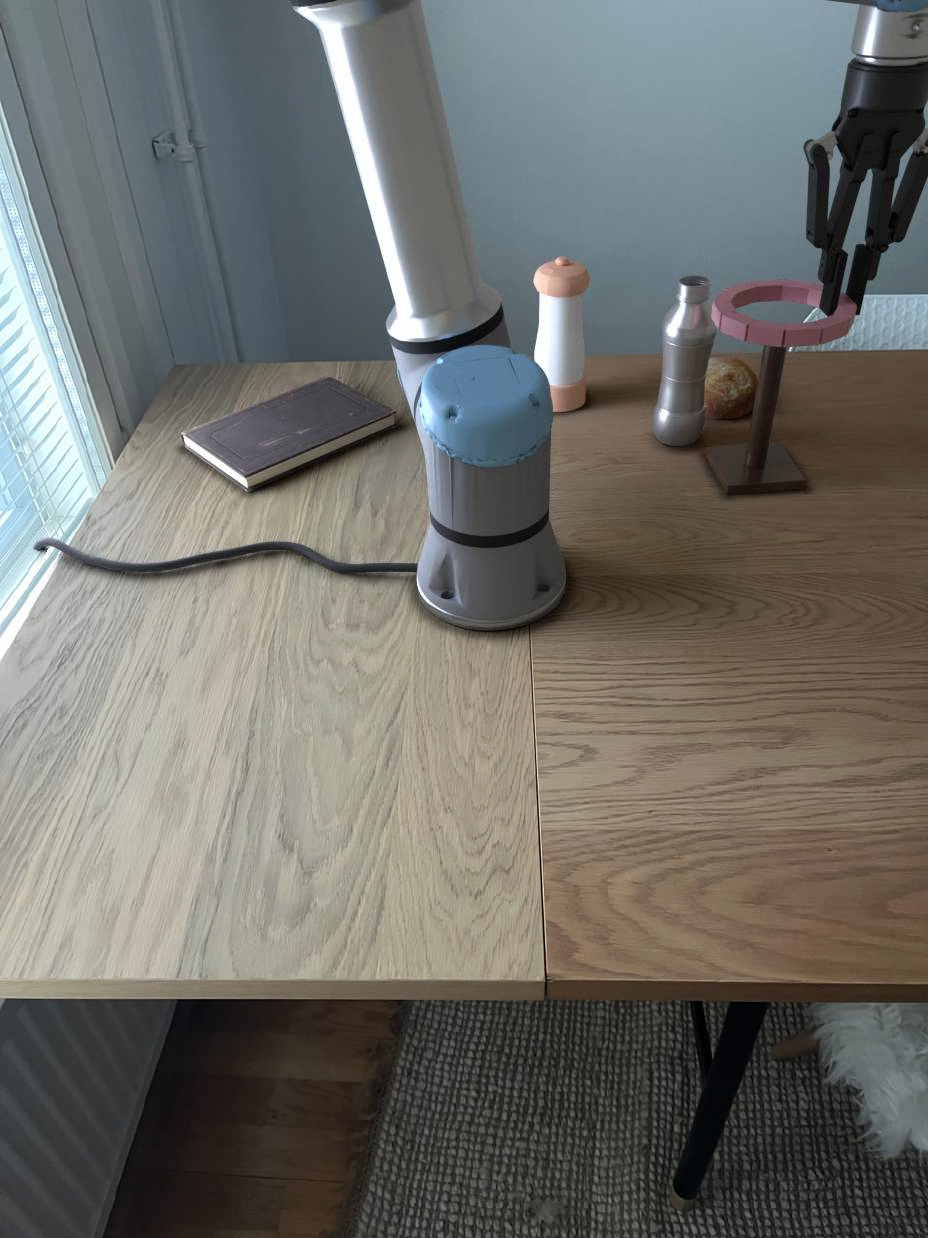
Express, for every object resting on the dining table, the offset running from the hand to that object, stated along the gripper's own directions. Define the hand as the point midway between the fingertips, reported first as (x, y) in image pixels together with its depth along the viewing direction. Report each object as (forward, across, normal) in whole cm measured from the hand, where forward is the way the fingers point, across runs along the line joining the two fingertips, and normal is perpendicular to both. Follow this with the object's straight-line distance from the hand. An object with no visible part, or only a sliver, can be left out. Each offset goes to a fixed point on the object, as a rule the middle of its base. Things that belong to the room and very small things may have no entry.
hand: (839, 310), depth 101 cm
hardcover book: (+19, -62, +17) cm, 67 cm away
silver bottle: (+19, -13, +9) cm, 25 cm away
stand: (+19, -6, 0) cm, 20 cm away
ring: (+1, -6, 0) cm, 6 cm away
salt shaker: (+19, -26, +22) cm, 39 cm away
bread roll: (+19, -5, +18) cm, 27 cm away
